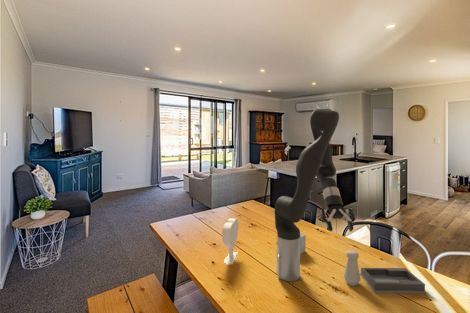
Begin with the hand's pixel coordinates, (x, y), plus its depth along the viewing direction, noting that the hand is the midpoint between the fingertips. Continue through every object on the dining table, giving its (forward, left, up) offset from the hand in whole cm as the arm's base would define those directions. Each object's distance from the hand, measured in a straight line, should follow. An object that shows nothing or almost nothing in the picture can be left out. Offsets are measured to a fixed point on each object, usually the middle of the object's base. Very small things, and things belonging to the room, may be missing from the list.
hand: (341, 230), depth 107 cm
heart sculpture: (-49, +8, -17) cm, 52 cm away
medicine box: (-16, +13, -17) cm, 27 cm away
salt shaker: (0, -12, -17) cm, 21 cm away
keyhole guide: (+15, -12, -17) cm, 25 cm away
